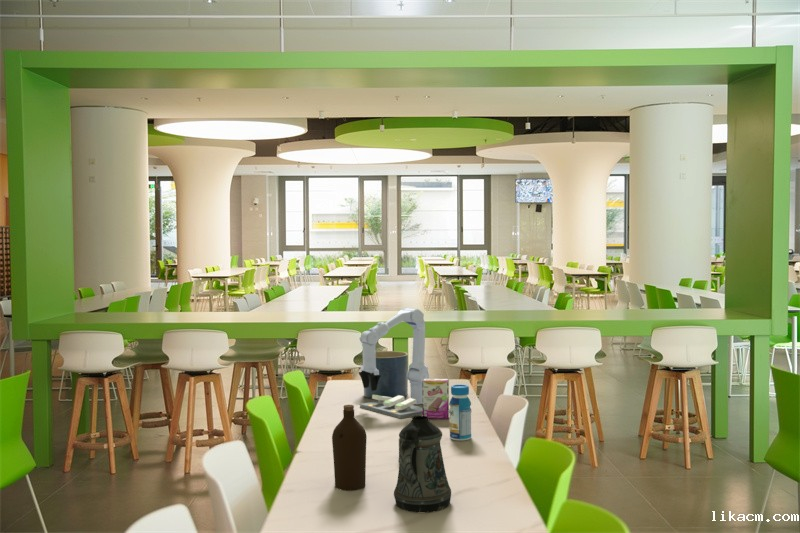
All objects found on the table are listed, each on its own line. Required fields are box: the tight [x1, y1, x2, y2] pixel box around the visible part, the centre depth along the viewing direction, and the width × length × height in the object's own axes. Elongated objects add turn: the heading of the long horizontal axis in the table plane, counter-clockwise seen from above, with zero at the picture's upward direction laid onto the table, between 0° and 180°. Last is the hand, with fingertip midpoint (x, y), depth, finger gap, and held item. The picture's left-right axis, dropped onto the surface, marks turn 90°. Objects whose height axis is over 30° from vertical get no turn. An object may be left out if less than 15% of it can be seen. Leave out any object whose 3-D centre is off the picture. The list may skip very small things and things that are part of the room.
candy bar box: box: [422, 378, 450, 420], centre depth 331 cm, size 11×5×16 cm, turn 84°
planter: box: [361, 350, 409, 400], centre depth 381 cm, size 22×22×20 cm
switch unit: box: [359, 400, 423, 420], centre depth 348 cm, size 16×30×3 cm, turn 38°
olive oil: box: [331, 404, 368, 491], centre depth 241 cm, size 11×11×25 cm
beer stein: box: [393, 415, 452, 513], centre depth 223 cm, size 16×19×25 cm
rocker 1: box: [371, 395, 392, 401], centre depth 354 cm, size 9×4×2 cm, turn 128°
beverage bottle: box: [449, 384, 472, 442], centre depth 297 cm, size 8×8×20 cm
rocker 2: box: [383, 395, 405, 407], centre depth 348 cm, size 9×4×2 cm, turn 128°
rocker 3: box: [395, 397, 417, 410], centre depth 341 cm, size 9×4×2 cm, turn 128°
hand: (369, 388), depth 346 cm, fingers open, 7 cm apart
